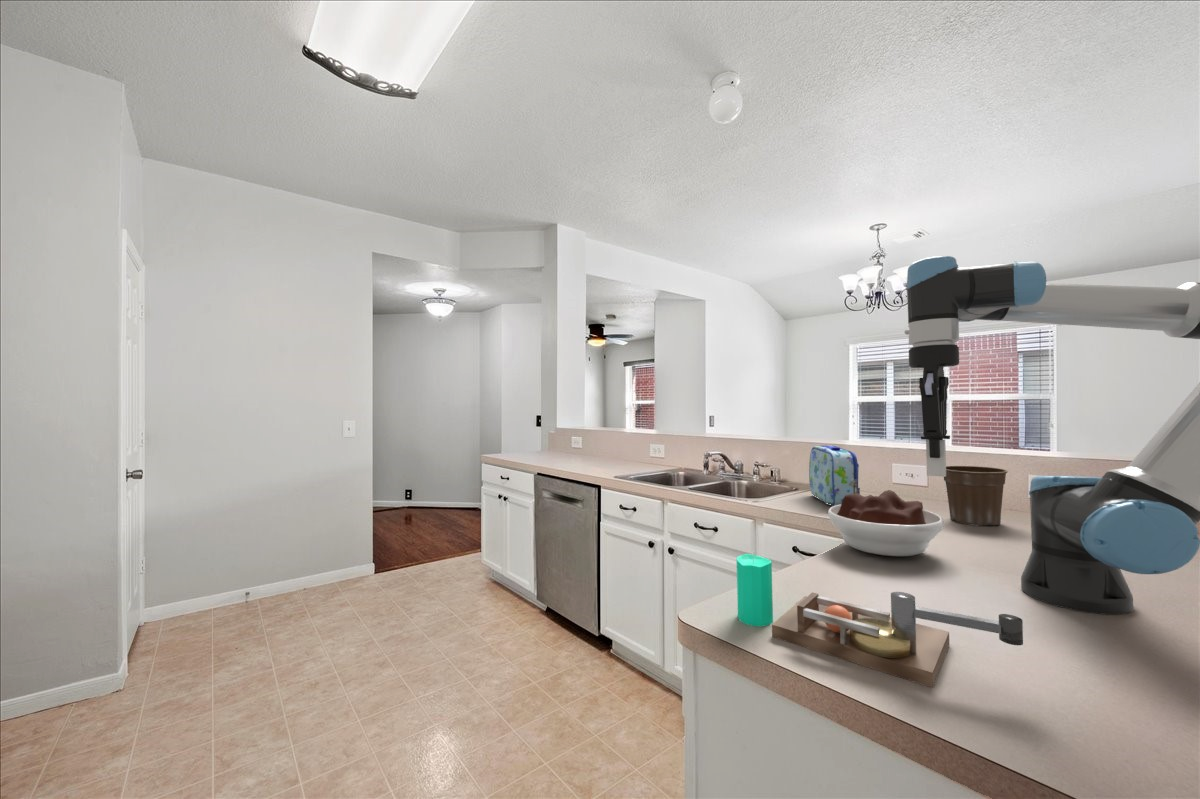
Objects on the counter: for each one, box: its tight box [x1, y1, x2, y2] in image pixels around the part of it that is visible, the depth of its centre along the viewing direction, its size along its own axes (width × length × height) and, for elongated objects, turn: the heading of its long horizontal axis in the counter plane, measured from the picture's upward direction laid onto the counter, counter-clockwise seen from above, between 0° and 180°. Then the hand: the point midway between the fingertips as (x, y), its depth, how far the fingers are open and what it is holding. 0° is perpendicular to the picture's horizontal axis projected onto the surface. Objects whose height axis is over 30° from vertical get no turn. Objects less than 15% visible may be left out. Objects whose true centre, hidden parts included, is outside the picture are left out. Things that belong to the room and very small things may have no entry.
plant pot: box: [943, 465, 1009, 527], centre depth 148 cm, size 16×16×16 cm
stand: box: [771, 591, 950, 689], centre depth 78 cm, size 22×15×6 cm
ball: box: [825, 605, 852, 633], centre depth 77 cm, size 4×4×4 cm
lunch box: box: [808, 444, 861, 506], centre depth 180 cm, size 26×11×21 cm, turn 174°
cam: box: [850, 591, 1024, 658], centre depth 68 cm, size 10×19×8 cm, turn 36°
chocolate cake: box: [827, 489, 945, 557], centre depth 122 cm, size 25×25×15 cm
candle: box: [736, 550, 774, 627], centre depth 86 cm, size 6×6×12 cm
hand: (936, 475), depth 88 cm, fingers closed
